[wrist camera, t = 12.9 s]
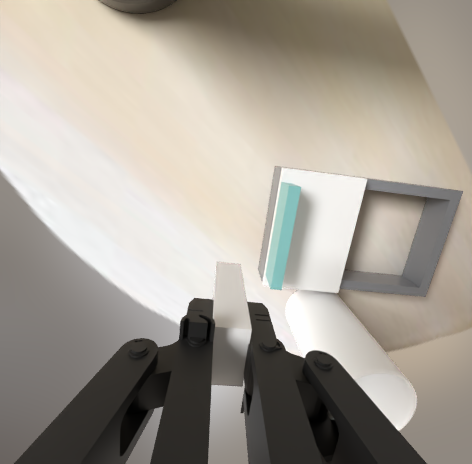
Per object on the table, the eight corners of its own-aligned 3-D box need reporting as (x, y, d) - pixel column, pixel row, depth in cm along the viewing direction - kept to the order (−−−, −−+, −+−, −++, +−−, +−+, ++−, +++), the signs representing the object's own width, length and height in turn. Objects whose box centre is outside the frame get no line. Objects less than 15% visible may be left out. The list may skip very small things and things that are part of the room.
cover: (281, 167, 29) (292, 169, 25) (362, 178, 30) (386, 181, 26) (262, 282, 33) (268, 301, 29) (334, 289, 34) (351, 308, 29)
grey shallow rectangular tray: (274, 166, 33) (281, 167, 29) (439, 187, 35) (463, 191, 31) (258, 269, 37) (261, 281, 33) (407, 284, 38) (425, 296, 35)
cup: (350, 312, 39) (433, 412, 24) (305, 342, 40) (356, 456, 25) (321, 273, 37) (390, 354, 22) (274, 305, 38) (308, 405, 23)
